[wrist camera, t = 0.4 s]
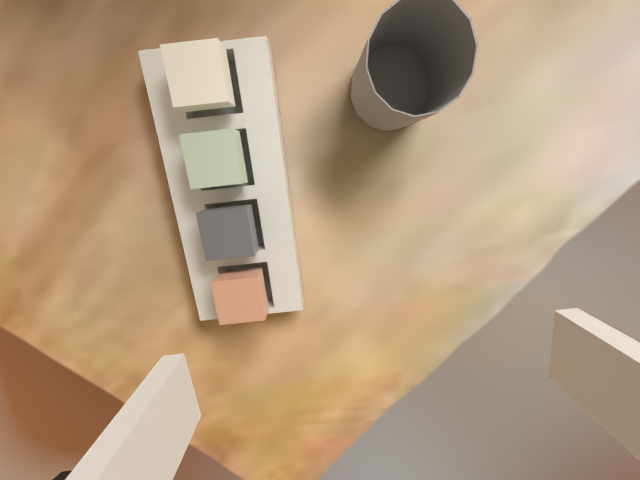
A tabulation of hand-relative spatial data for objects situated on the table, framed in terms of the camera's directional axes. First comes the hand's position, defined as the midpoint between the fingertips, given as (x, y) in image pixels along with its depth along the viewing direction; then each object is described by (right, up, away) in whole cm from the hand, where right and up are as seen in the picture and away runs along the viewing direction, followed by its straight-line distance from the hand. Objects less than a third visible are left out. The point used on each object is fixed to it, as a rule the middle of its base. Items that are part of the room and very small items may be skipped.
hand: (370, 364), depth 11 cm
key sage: (-12, +13, +20) cm, 26 cm away
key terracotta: (-10, -1, +23) cm, 25 cm away
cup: (+6, +21, +21) cm, 30 cm away
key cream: (-12, +19, +18) cm, 29 cm away
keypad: (-11, +10, +24) cm, 28 cm away
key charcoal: (-11, +6, +22) cm, 25 cm away
